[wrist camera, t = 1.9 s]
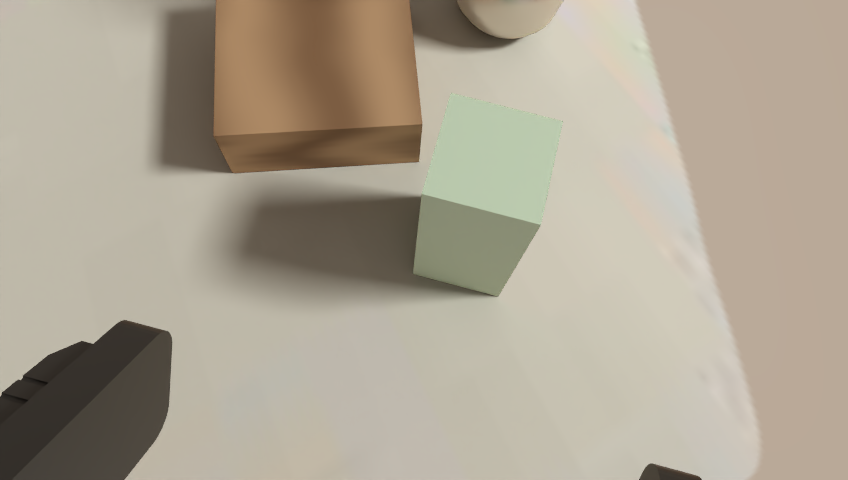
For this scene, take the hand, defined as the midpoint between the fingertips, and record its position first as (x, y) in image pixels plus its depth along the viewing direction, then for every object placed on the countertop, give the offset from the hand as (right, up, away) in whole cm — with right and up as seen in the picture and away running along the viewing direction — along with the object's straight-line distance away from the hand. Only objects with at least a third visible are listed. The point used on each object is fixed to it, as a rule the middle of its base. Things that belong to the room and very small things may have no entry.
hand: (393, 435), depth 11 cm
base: (-5, +12, +26) cm, 29 cm away
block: (+3, +3, +23) cm, 24 cm away
